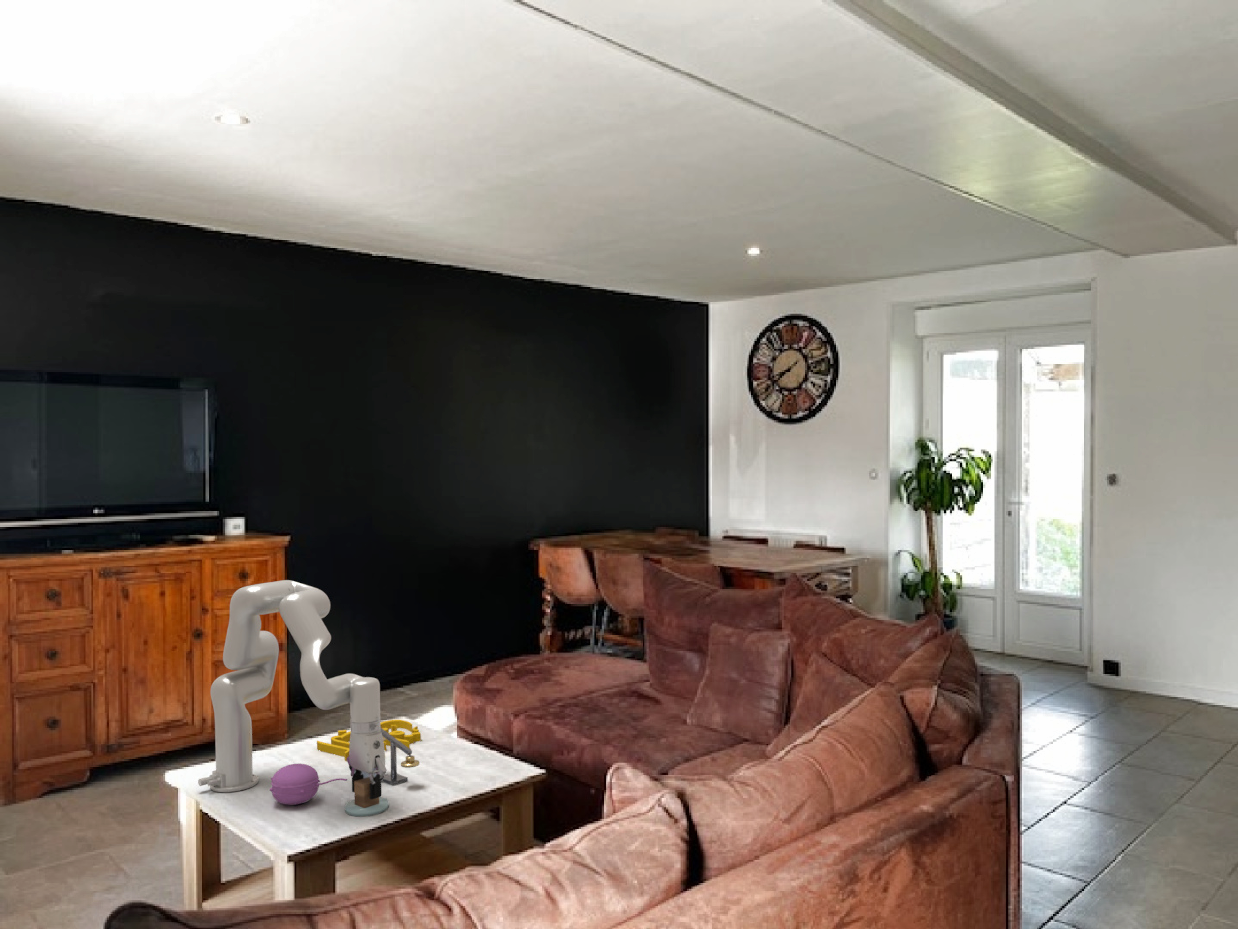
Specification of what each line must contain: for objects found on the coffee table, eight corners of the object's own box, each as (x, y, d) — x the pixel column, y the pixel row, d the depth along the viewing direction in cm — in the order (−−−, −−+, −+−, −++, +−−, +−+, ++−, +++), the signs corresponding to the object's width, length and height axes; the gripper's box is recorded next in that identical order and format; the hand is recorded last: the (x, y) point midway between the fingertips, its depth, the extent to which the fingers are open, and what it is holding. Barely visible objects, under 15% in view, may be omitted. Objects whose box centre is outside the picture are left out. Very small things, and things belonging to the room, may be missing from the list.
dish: (360, 820, 235) (360, 815, 235) (336, 809, 242) (336, 805, 242) (397, 807, 243) (397, 802, 243) (372, 797, 251) (372, 793, 251)
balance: (408, 791, 255) (407, 740, 255) (365, 776, 268) (364, 727, 268) (423, 786, 259) (422, 736, 259) (380, 771, 272) (379, 723, 272)
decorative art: (387, 716, 323) (446, 730, 304) (387, 724, 323) (447, 739, 304) (301, 740, 296) (361, 757, 277) (302, 749, 296) (361, 767, 277)
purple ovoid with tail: (287, 793, 255) (286, 757, 255) (349, 798, 251) (349, 760, 251) (261, 809, 243) (261, 771, 243) (326, 814, 239) (326, 775, 239)
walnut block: (364, 808, 240) (363, 785, 240) (354, 804, 243) (354, 781, 243) (379, 803, 243) (378, 780, 243) (369, 799, 246) (369, 776, 246)
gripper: (397, 729, 240) (398, 798, 240) (358, 717, 251) (359, 783, 251) (372, 735, 234) (373, 806, 234) (334, 724, 246) (335, 791, 246)
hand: (366, 794), depth 243 cm, fingers open, 7 cm apart
